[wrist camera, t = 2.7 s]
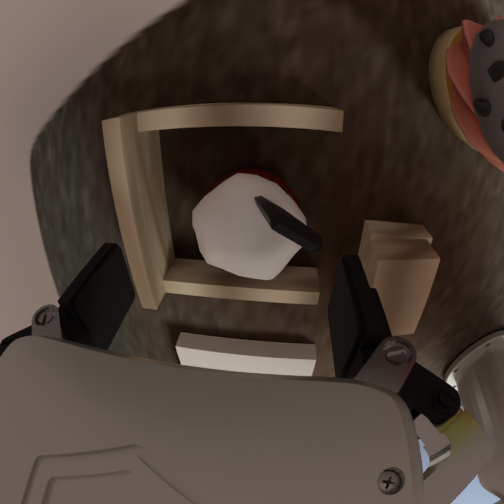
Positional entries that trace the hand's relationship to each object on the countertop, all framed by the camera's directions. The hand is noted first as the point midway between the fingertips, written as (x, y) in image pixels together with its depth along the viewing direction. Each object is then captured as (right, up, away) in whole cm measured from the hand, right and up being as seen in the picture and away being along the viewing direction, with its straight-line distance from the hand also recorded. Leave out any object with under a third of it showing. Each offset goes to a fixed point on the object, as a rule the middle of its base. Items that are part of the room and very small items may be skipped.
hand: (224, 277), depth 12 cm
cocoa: (+2, +5, +8) cm, 10 cm away
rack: (0, +5, +8) cm, 9 cm away
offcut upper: (+12, -1, +8) cm, 14 cm away
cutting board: (+1, -15, +20) cm, 25 cm away
